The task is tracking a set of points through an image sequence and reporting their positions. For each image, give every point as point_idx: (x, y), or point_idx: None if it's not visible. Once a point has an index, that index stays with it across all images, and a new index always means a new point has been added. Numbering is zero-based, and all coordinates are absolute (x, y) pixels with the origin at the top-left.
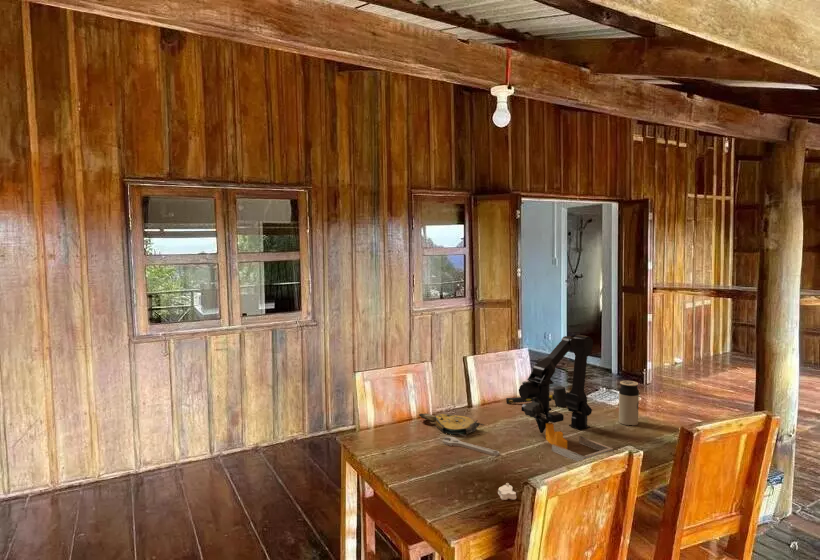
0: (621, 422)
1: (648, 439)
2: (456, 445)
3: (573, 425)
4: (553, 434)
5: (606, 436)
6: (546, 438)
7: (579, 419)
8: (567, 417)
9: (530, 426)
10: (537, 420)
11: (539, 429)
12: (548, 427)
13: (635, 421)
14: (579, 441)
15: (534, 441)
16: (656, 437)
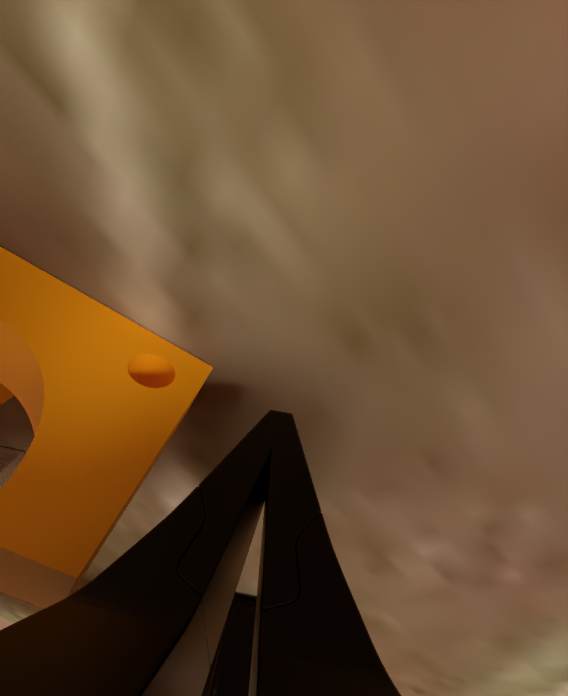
0: None
1: (14, 600)
2: None
3: (251, 619)
4: (28, 401)
5: (86, 576)
6: (181, 359)
7: (208, 683)
8: (390, 671)
9: (544, 524)
10: (297, 625)
11: (291, 441)
12: (18, 477)
13: None
14: (4, 462)
15: (215, 180)
16: (28, 616)
